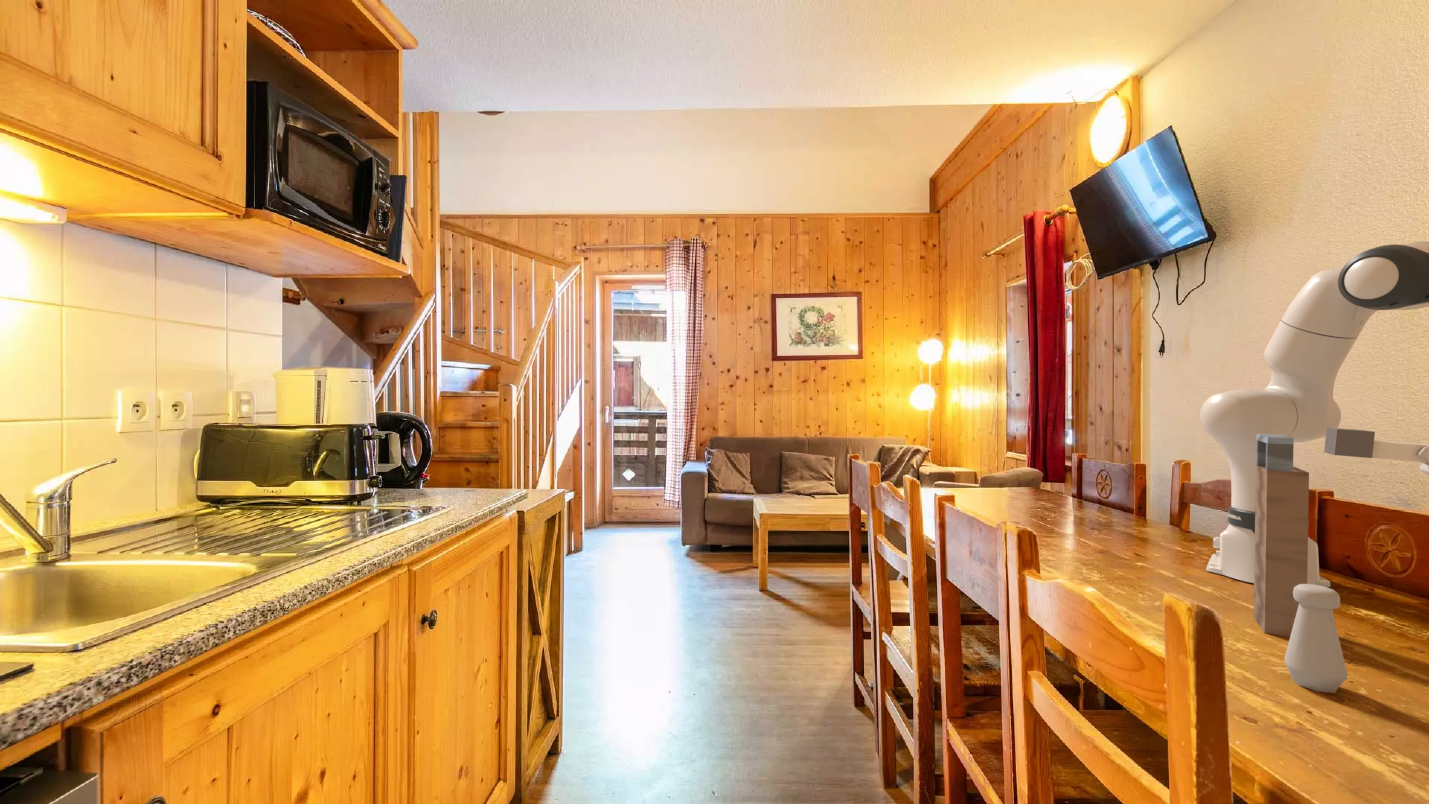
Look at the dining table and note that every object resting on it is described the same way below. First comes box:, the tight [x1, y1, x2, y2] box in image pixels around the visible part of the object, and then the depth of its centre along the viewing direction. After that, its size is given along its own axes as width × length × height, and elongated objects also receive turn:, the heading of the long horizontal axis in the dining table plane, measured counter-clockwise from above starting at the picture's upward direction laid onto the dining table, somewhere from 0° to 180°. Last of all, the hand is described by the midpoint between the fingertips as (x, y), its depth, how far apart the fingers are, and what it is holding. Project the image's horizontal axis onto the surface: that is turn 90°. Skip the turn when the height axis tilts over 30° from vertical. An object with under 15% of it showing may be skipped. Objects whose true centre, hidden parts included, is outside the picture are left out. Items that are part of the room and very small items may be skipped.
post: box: [1253, 434, 1310, 638], centre depth 96 cm, size 8×5×31 cm, turn 147°
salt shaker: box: [1283, 584, 1348, 694], centre depth 77 cm, size 6×6×13 cm
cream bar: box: [1323, 427, 1429, 463], centre depth 89 cm, size 5×13×4 cm, turn 57°
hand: (1413, 448), depth 88 cm, fingers closed on cream bar, 3 cm apart
